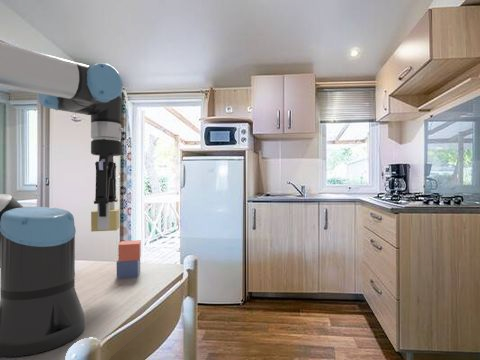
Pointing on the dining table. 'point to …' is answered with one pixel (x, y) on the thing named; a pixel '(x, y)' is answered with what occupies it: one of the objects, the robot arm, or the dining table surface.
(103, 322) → the dining table surface
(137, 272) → the blue cube
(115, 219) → the mustard brick
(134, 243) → the red brick
